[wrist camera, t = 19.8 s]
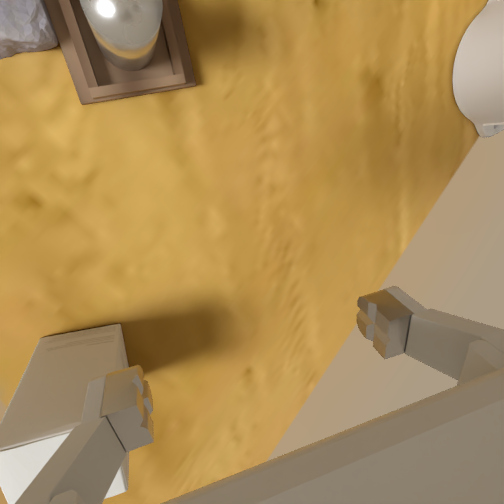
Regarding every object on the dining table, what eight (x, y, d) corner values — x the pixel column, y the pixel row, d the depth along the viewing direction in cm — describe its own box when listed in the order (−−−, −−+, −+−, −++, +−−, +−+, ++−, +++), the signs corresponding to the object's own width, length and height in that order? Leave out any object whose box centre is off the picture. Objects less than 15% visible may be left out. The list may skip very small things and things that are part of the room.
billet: (143, 2, 28) (146, -58, 19) (162, 64, 30) (173, 36, 22) (86, 12, 27) (61, -46, 18) (110, 76, 29) (98, 51, 21)
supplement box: (37, 336, 36) (-21, 453, 23) (121, 321, 39) (113, 418, 26) (55, 397, 39) (14, 531, 26) (131, 380, 42) (129, 493, 29)
